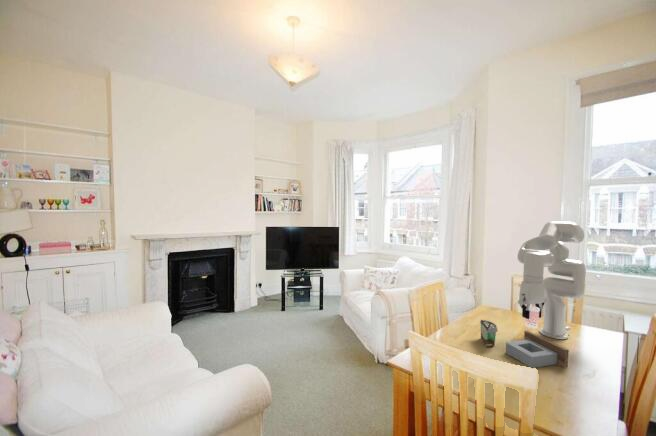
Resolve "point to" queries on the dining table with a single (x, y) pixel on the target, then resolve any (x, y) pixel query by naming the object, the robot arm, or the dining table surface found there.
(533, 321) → the beverage cup
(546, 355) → the socket block
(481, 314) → the dining table surface
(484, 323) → the food container
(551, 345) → the walnut wall
